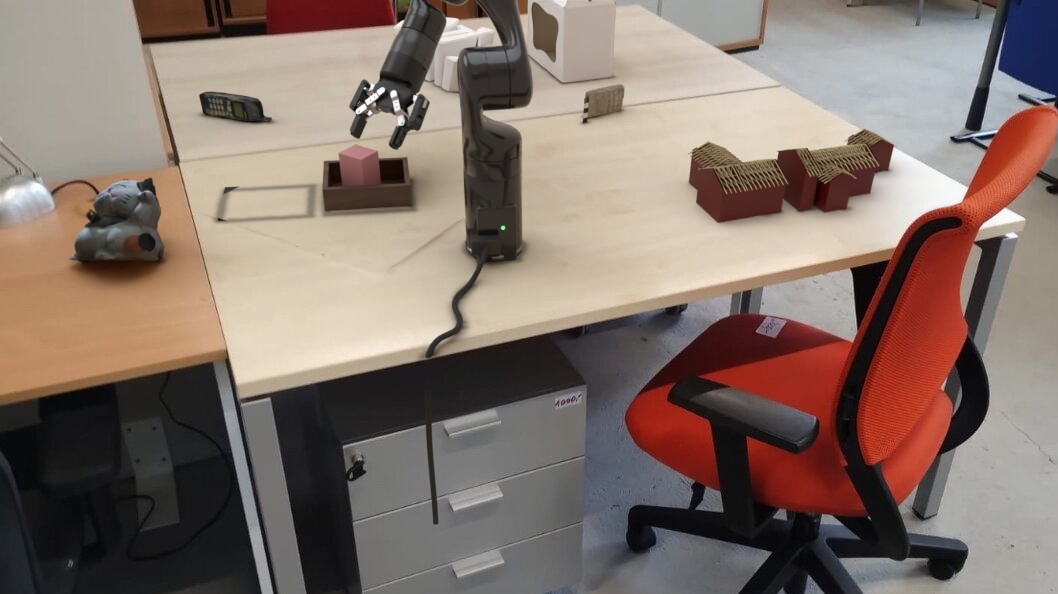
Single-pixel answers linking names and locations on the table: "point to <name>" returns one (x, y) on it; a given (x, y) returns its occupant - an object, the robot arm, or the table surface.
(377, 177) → the block
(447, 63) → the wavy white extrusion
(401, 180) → the crate
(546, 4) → the gable box
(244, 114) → the mobile phone
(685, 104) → the table surface
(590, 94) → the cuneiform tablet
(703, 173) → the toy houses
